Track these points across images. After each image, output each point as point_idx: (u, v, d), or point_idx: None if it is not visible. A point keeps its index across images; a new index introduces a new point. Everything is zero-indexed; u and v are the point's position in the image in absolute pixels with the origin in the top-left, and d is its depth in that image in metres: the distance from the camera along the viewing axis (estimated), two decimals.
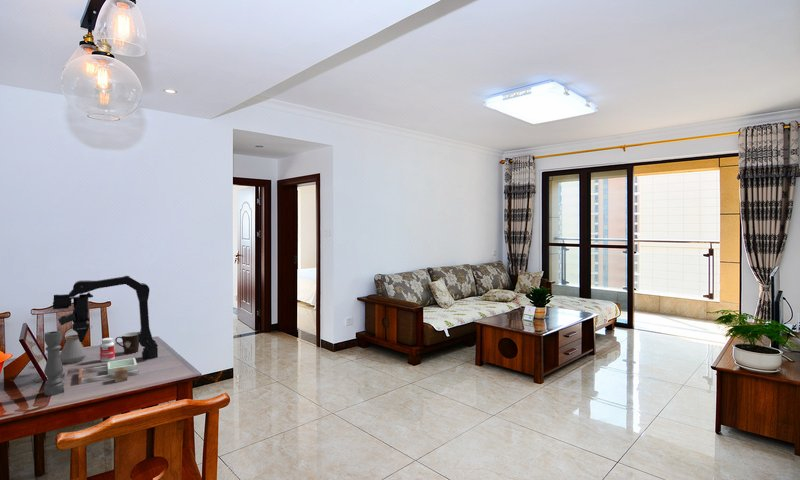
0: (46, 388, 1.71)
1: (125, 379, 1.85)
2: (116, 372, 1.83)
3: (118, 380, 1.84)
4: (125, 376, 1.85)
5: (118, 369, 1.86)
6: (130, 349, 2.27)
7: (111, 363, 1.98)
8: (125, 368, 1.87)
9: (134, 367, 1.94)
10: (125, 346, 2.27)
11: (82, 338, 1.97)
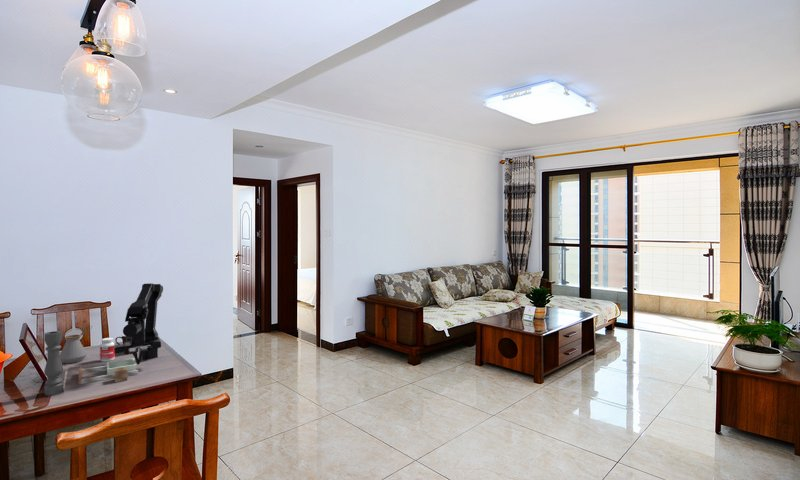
0: (46, 388, 1.71)
1: (125, 379, 1.85)
2: (116, 372, 1.83)
3: (118, 380, 1.84)
4: (125, 376, 1.85)
5: (118, 369, 1.86)
6: None
7: (110, 363, 1.98)
8: (125, 368, 1.87)
9: (133, 367, 1.94)
10: None
11: (136, 361, 1.99)
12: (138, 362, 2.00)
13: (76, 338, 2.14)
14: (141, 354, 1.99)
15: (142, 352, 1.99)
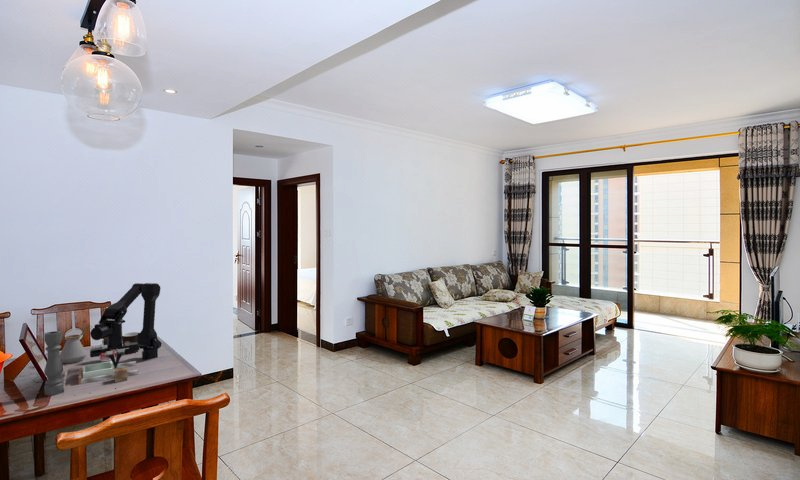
0: (46, 388, 1.71)
1: (125, 379, 1.85)
2: (116, 372, 1.83)
3: (118, 380, 1.84)
4: (125, 376, 1.85)
5: (118, 369, 1.86)
6: None
7: (87, 367, 1.93)
8: (125, 368, 1.87)
9: (110, 371, 1.89)
10: None
11: (113, 364, 1.94)
12: (115, 365, 1.94)
13: (76, 338, 2.14)
14: (118, 357, 1.94)
15: (119, 355, 1.93)
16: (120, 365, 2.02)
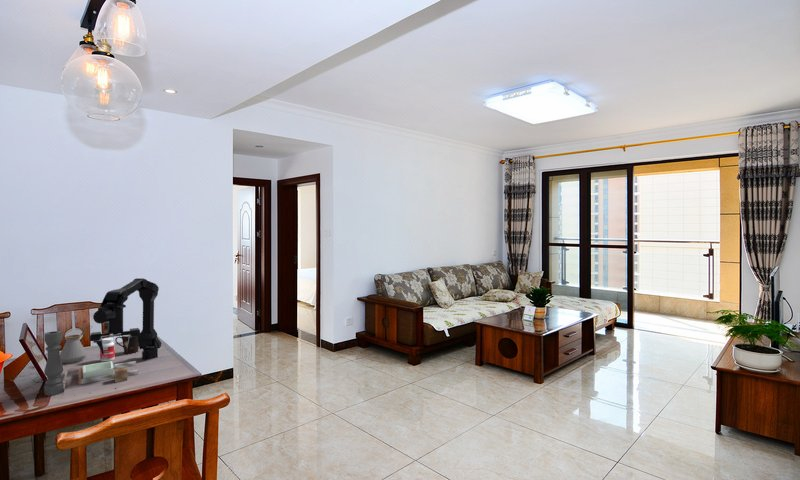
0: (46, 388, 1.71)
1: (125, 379, 1.85)
2: (116, 372, 1.83)
3: (118, 380, 1.84)
4: (125, 376, 1.85)
5: (118, 369, 1.86)
6: (130, 349, 2.27)
7: (87, 367, 1.93)
8: (125, 368, 1.87)
9: (110, 371, 1.89)
10: (125, 346, 2.27)
11: (101, 351, 1.87)
12: (127, 349, 1.93)
13: (76, 338, 2.14)
14: (130, 341, 1.92)
15: (131, 339, 1.92)
16: (120, 365, 2.02)
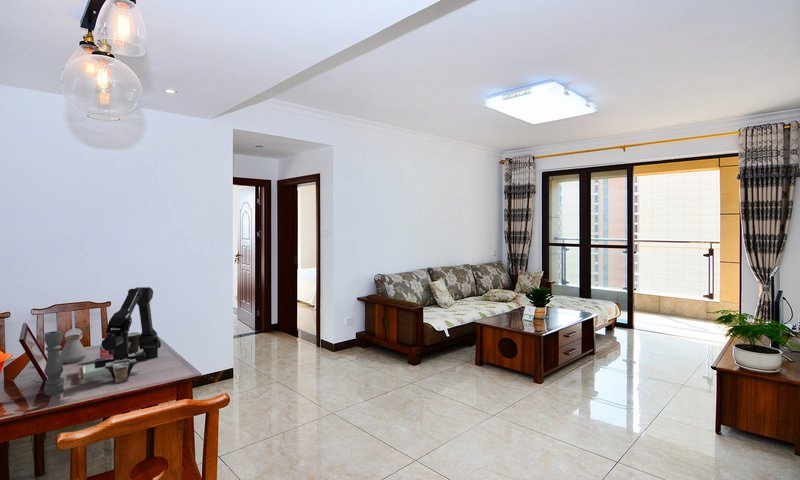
0: (46, 388, 1.71)
1: (125, 379, 1.85)
2: (116, 372, 1.83)
3: (118, 380, 1.84)
4: (125, 376, 1.85)
5: (118, 369, 1.86)
6: (130, 349, 2.27)
7: (87, 367, 1.93)
8: (125, 368, 1.87)
9: None
10: None
11: (112, 376, 1.84)
12: (127, 376, 1.87)
13: (76, 338, 2.14)
14: (130, 367, 1.86)
15: (131, 365, 1.86)
16: (120, 365, 2.02)
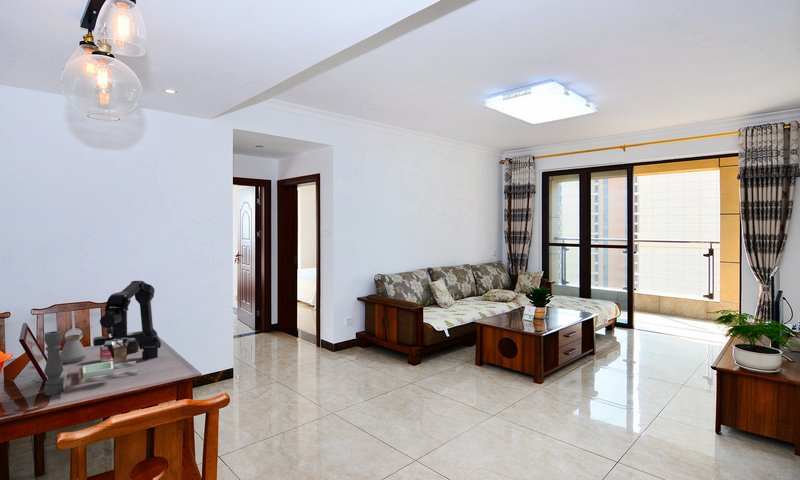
0: (46, 388, 1.71)
1: (124, 357, 1.86)
2: (115, 350, 1.83)
3: (117, 358, 1.84)
4: (124, 354, 1.85)
5: (117, 348, 1.86)
6: (130, 349, 2.27)
7: (87, 367, 1.93)
8: (124, 347, 1.87)
9: (110, 371, 1.89)
10: None
11: (111, 355, 1.84)
12: None
13: (76, 338, 2.14)
14: (129, 346, 1.86)
15: (130, 344, 1.86)
16: (120, 365, 2.02)
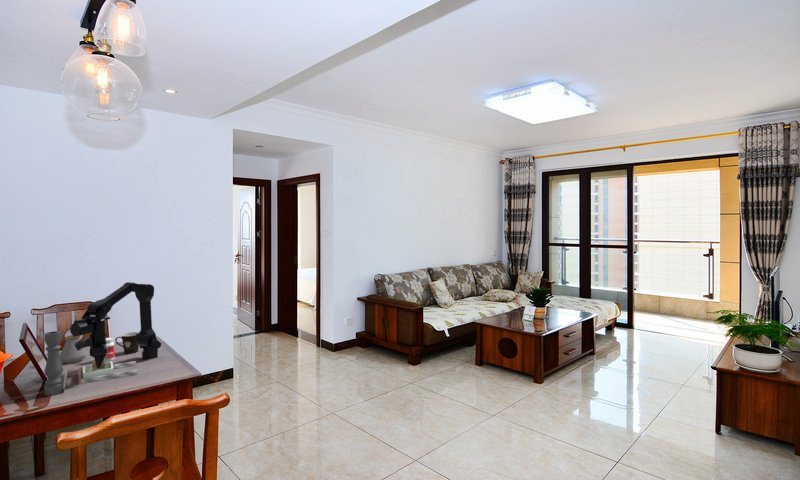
0: (46, 388, 1.71)
1: None
2: None
3: (104, 368, 1.92)
4: None
5: None
6: (130, 349, 2.27)
7: (87, 367, 1.93)
8: None
9: (110, 371, 1.89)
10: (125, 346, 2.27)
11: (99, 364, 1.87)
12: None
13: (76, 338, 2.14)
14: None
15: None
16: (120, 365, 2.02)
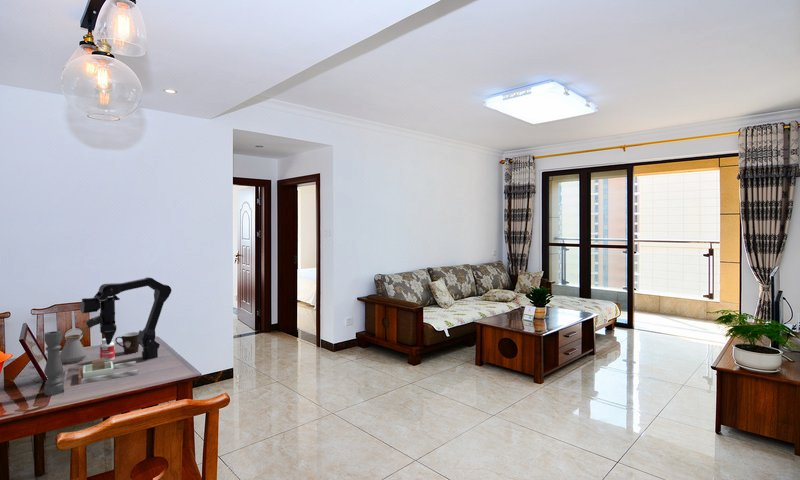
0: (46, 388, 1.71)
1: None
2: None
3: (104, 368, 1.92)
4: None
5: (97, 360, 1.90)
6: (130, 349, 2.27)
7: (87, 367, 1.93)
8: (98, 359, 1.93)
9: (110, 371, 1.89)
10: (125, 346, 2.27)
11: (109, 341, 1.99)
12: None
13: (76, 338, 2.14)
14: None
15: None
16: (120, 365, 2.02)
